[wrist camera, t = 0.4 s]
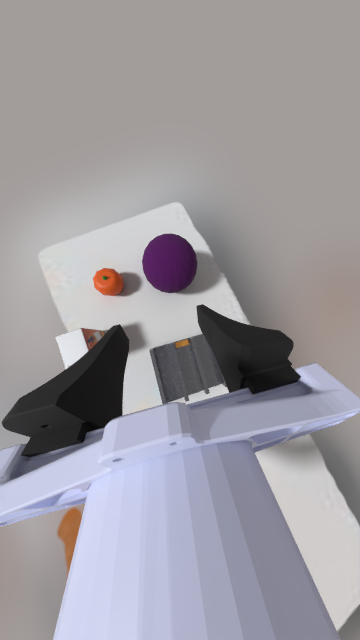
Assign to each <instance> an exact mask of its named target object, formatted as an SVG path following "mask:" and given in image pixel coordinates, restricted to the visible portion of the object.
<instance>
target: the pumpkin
mask: <svg viewBox="0 0 360 640" xmlns="http://www.w3.org/2000/svg"><path fill="white" fill-rule="evenodd" d="M93 281H94V287H95V288H96V289H97V290H98V291H99V292H101V293H102V294H103V295H110V296H114V295H116V294H118V293H120V292H121V290H122V288H123V286H124V283H123V279H122V276H121V275H120V274H119V273H118V272H116V271H115V270H114V269H108V268H103V269H102V270H99V271H97V272H96V274H95V276H94V278H93Z"/></svg>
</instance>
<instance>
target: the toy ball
mask: <svg viewBox="0 0 360 640" xmlns="http://www.w3.org/2000/svg"><path fill="white" fill-rule="evenodd" d="M142 263H143V271H144V274H145V276H146V278H147V280H148V281H149V282H150V283H151V284H152V286H153V287H155V288H156V289H158V290H160V291H162V292H166V293H175V292H179V291H181V290H183V289H185V288H186V287H187V286H188V285H189V284H191V282H192V280H193V278H194V277H195V275H196V270H197V259H196V254H195V252H194V250H193V248H192V246H191V244H190V243H189V242H188V241H187V240H186V239H184V238H182V237H181V236H179V235H175V234H163V235H160V236H157V237H156V238H154V239H153V240H152V241H151V242H150V243H149V244H148V246H147V247H146V249H145V251H144V255H143V260H142Z"/></svg>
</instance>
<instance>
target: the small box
mask: <svg viewBox="0 0 360 640" xmlns="http://www.w3.org/2000/svg"><path fill="white" fill-rule="evenodd" d="M103 336H104V332H103V331H100V330H93V329H84V328H80V329H77V330H74V331H71V332H68V333H66V334H63V335H60V336H57V337H56V340H57V343H58V345H59V349H60V352H61V355H62V358H63V362H64V366H65V370H66V369H67V368H68V367H70V366H71V365H72V364H74V363H75V362H76V361H78V360H79V359H80V358H81V357H82V356H84V355H85V354H86V353H87V352H88V351H89V350H90V349H91V348H92V347H93V346H94V345H95V344H96V343H97V342H98V341H99V340H100V339H101V338H102V337H103Z"/></svg>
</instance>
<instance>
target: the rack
mask: <svg viewBox="0 0 360 640" xmlns="http://www.w3.org/2000/svg"><path fill="white" fill-rule="evenodd" d="M149 351H150V355H151V359H152V363H153V367H154V371H155V375H156V379H157V383H158V387H159V391H160V395H161V399H162V403H163V404H167V403H168V402H171V401H173V400H176V399H179V398H182V397H184V398H185V401H189V398H188V395H190V394H193V393H196V392H199V391H202V390H204V392H205V393H206V394H208V393H209V389H208V388H210V387H213V386H216V385H219V384H223V385H224V386H225V387H227V385H226V382H225V380H224V377H223V375H222V372H221V370H220V367H219V365H218V362H217V360H216V358H215V355H214V353H213V351H212V349H211V347H210V346H209V344H208V342H207V340H206V338H205V337H204V335H203V334H201V335H197V336H194V337H190V338H187V339H183V340H180V341H176V342H173V343H170V344H166V345H163V346H159V347H156V348H152V349H150V350H149Z"/></svg>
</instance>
